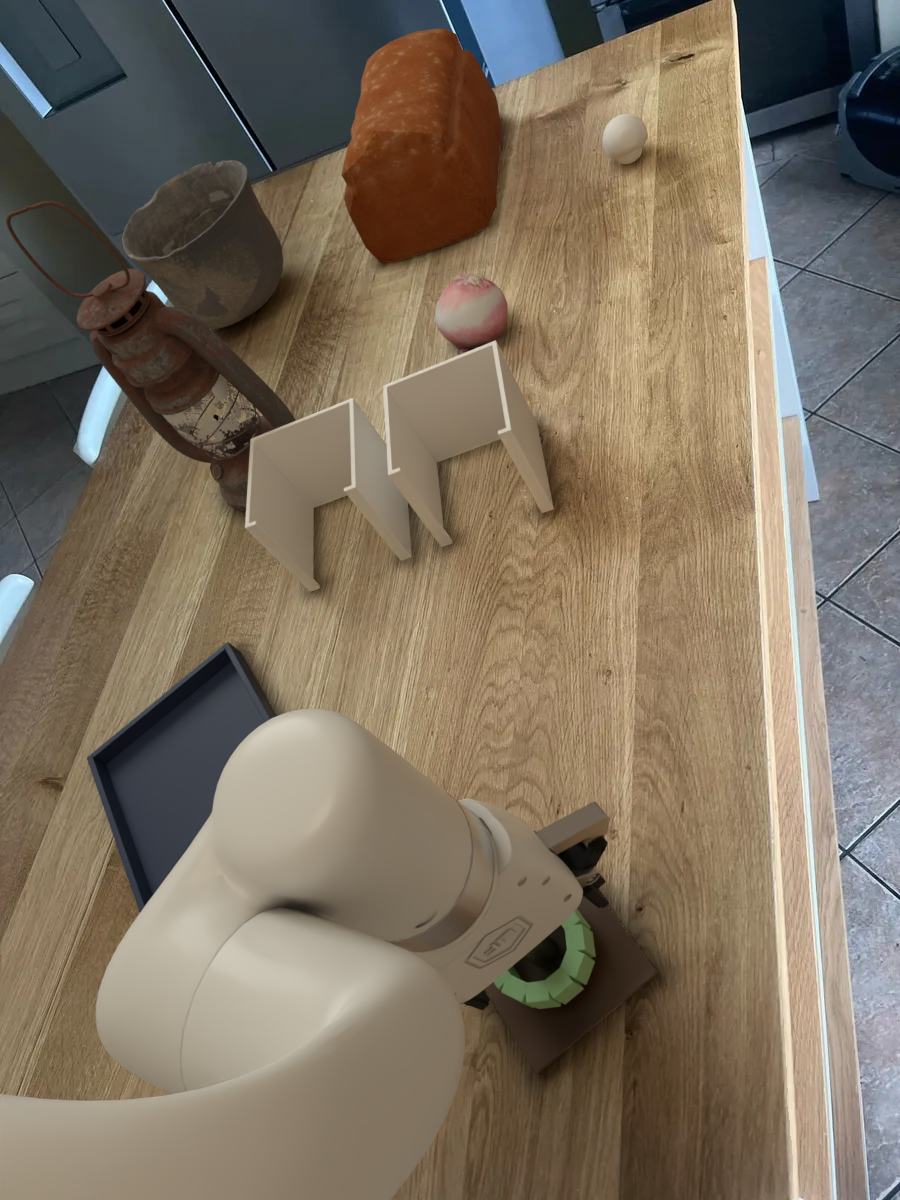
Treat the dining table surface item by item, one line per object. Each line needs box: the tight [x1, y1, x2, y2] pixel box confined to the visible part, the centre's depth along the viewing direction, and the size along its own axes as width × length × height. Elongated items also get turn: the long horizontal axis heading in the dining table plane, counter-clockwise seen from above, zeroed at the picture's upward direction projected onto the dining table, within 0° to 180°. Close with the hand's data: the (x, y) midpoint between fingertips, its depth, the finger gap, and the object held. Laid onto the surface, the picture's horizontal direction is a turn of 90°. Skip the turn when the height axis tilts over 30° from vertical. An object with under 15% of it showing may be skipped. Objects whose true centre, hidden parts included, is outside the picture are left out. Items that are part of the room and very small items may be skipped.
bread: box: [341, 27, 503, 263], centre depth 109 cm, size 17×24×15 cm
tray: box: [86, 641, 277, 913], centre depth 80 cm, size 17×19×2 cm
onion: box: [434, 273, 509, 356], centre depth 93 cm, size 8×8×7 cm
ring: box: [494, 909, 596, 1009], centre depth 58 cm, size 7×7×2 cm
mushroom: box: [601, 113, 649, 165], centre depth 100 cm, size 5×5×5 cm
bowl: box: [121, 159, 284, 329], centre depth 113 cm, size 18×18×15 cm
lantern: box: [5, 200, 296, 512], centre depth 86 cm, size 11×16×35 cm
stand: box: [484, 896, 659, 1075], centre depth 58 cm, size 10×10×7 cm
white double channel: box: [244, 340, 555, 593], centre depth 83 cm, size 25×11×11 cm, turn 95°
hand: (533, 936), depth 57 cm, fingers open, 9 cm apart
